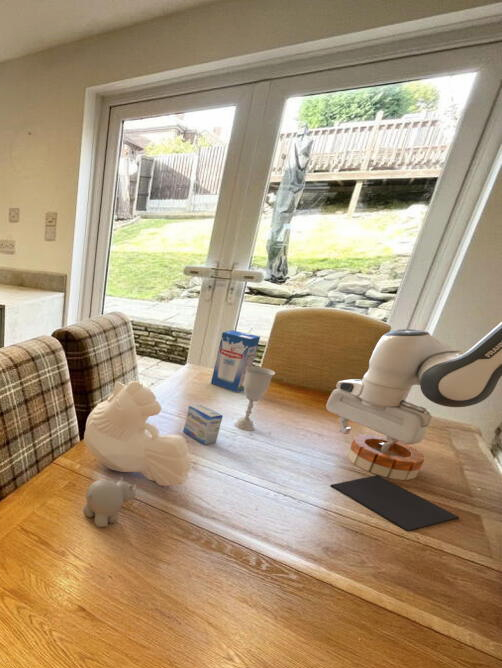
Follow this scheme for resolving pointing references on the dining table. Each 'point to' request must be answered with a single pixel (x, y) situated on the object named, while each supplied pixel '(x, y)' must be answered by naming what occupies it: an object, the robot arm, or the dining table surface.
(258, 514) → the dining table surface
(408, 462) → the top ring
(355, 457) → the bottom ring
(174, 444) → the decorative rooster
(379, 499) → the mat
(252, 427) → the chalice
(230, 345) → the milk carton
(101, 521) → the toy rhinoceros
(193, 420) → the medicine box
